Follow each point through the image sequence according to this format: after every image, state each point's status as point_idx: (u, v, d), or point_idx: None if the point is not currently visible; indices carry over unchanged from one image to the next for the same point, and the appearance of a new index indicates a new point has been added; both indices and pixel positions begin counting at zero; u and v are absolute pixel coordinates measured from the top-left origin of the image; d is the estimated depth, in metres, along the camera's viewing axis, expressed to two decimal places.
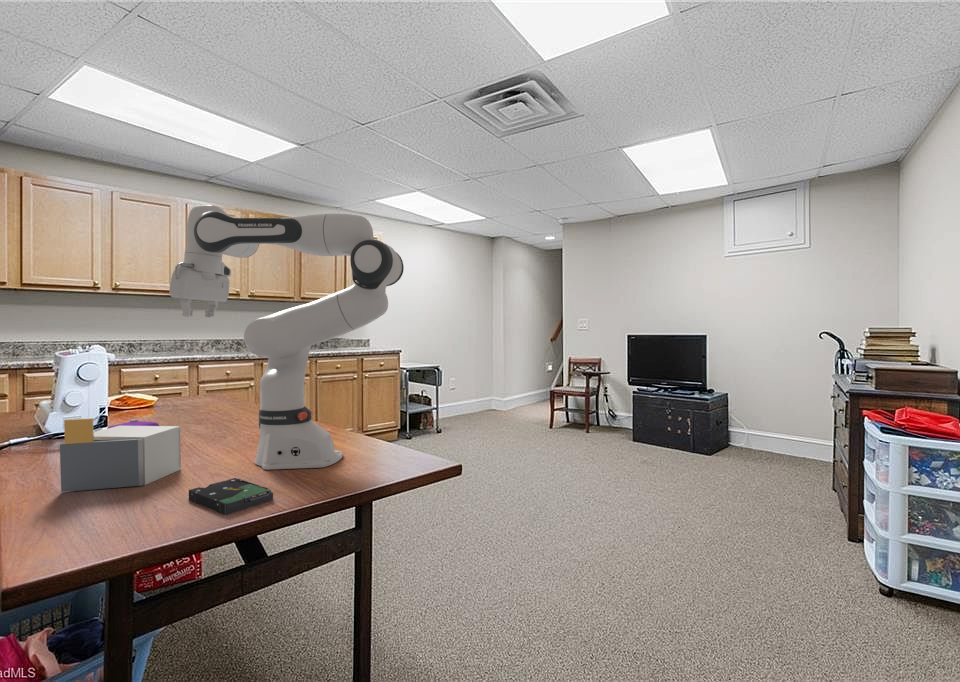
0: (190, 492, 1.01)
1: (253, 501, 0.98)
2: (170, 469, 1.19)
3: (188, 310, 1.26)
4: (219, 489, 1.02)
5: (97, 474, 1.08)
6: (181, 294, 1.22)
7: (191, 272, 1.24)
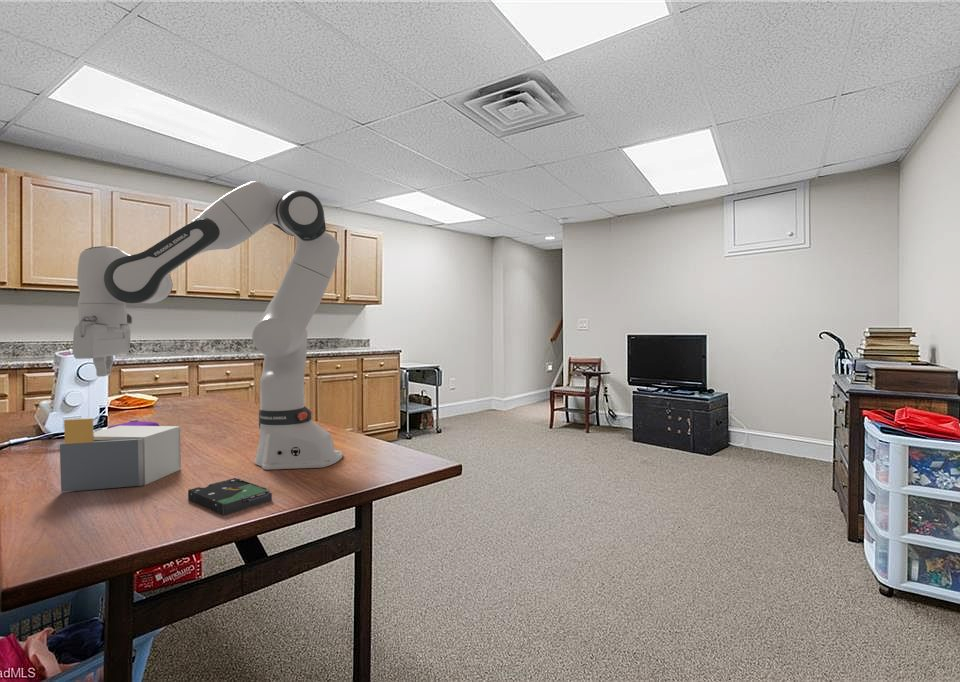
0: (189, 492, 1.01)
1: (251, 501, 0.98)
2: (170, 469, 1.19)
3: (104, 369, 1.12)
4: (218, 489, 1.02)
5: (97, 474, 1.08)
6: (90, 353, 1.04)
7: (97, 327, 1.07)
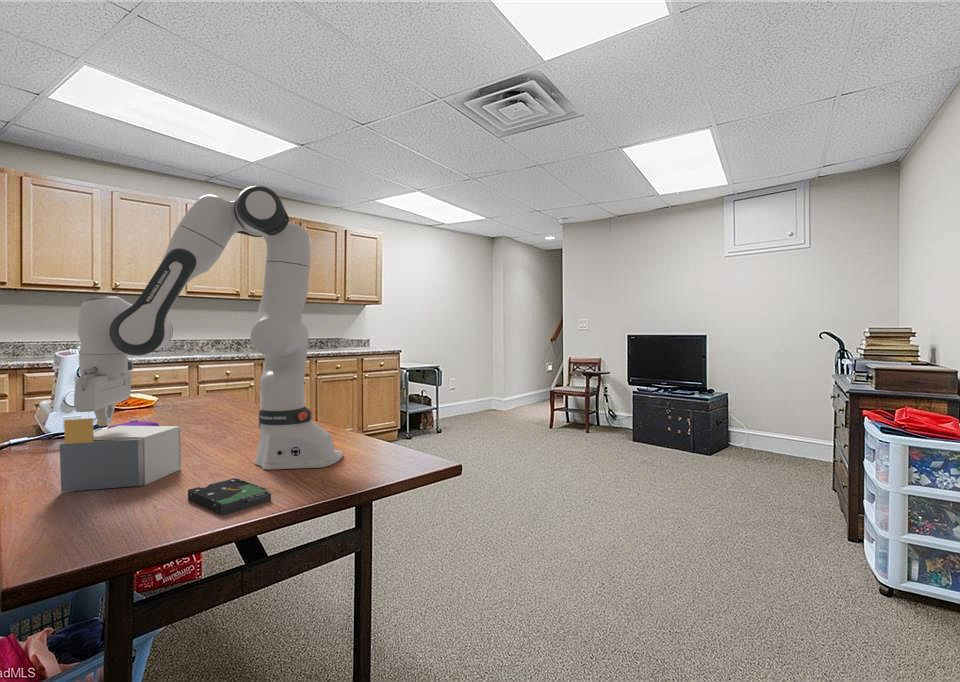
0: (189, 492, 1.01)
1: (250, 502, 0.98)
2: (170, 469, 1.19)
3: (105, 418, 1.13)
4: (218, 489, 1.02)
5: (97, 474, 1.08)
6: (91, 407, 1.05)
7: (98, 379, 1.07)
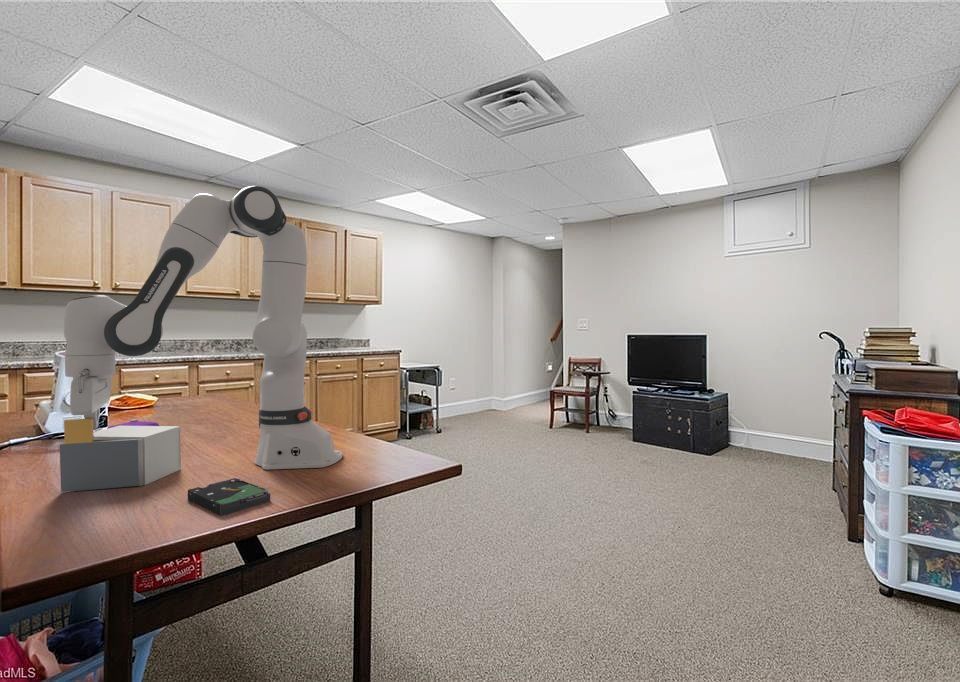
0: (189, 492, 1.01)
1: (250, 502, 0.97)
2: (170, 469, 1.19)
3: (94, 422, 1.08)
4: (218, 489, 1.02)
5: (97, 474, 1.08)
6: (90, 409, 1.01)
7: (94, 381, 1.03)
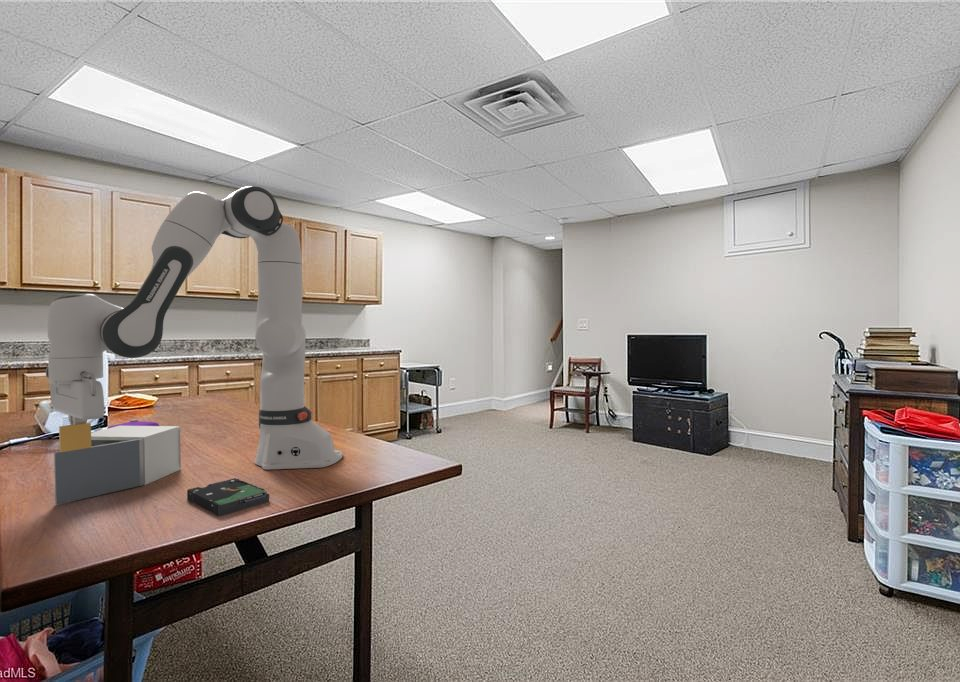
0: (188, 492, 1.01)
1: (248, 502, 0.97)
2: (170, 469, 1.19)
3: None
4: (217, 489, 1.02)
5: (97, 480, 1.04)
6: (103, 412, 0.98)
7: None
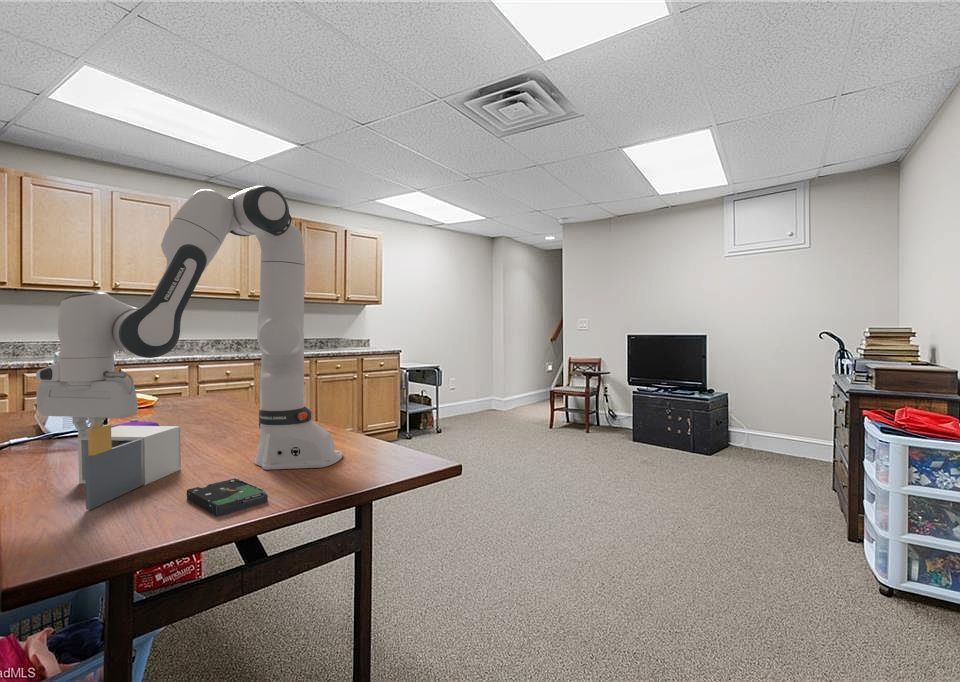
0: (188, 492, 1.01)
1: (246, 503, 0.97)
2: (170, 469, 1.19)
3: None
4: (216, 489, 1.02)
5: (115, 482, 1.02)
6: (137, 410, 1.00)
7: None
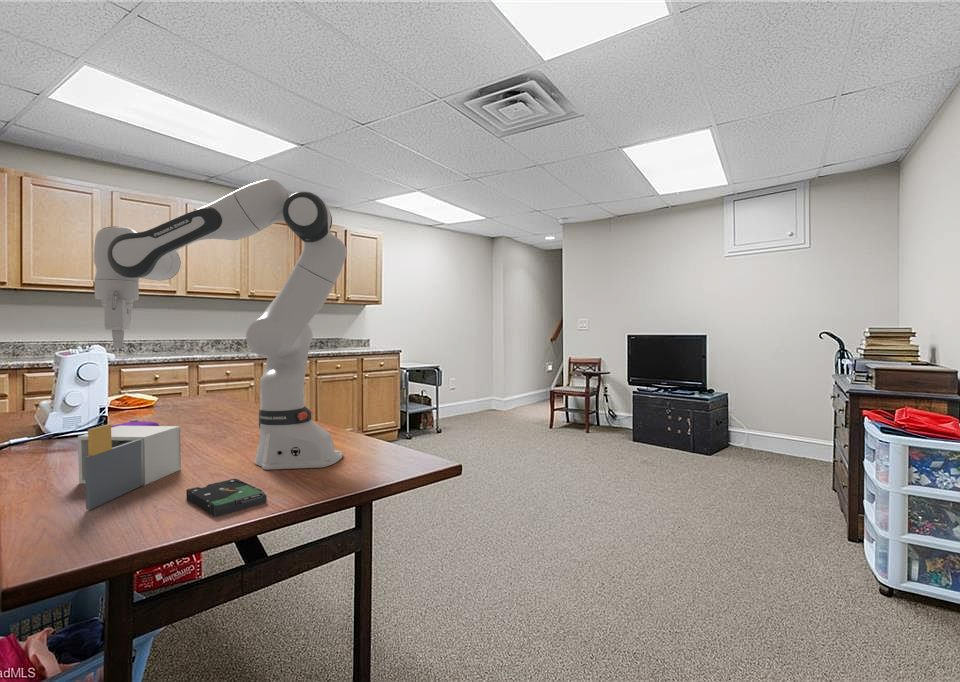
0: (187, 492, 1.01)
1: (245, 503, 0.97)
2: (170, 469, 1.19)
3: (121, 341, 1.21)
4: (215, 489, 1.01)
5: (115, 482, 1.02)
6: (122, 325, 1.14)
7: (123, 301, 1.16)
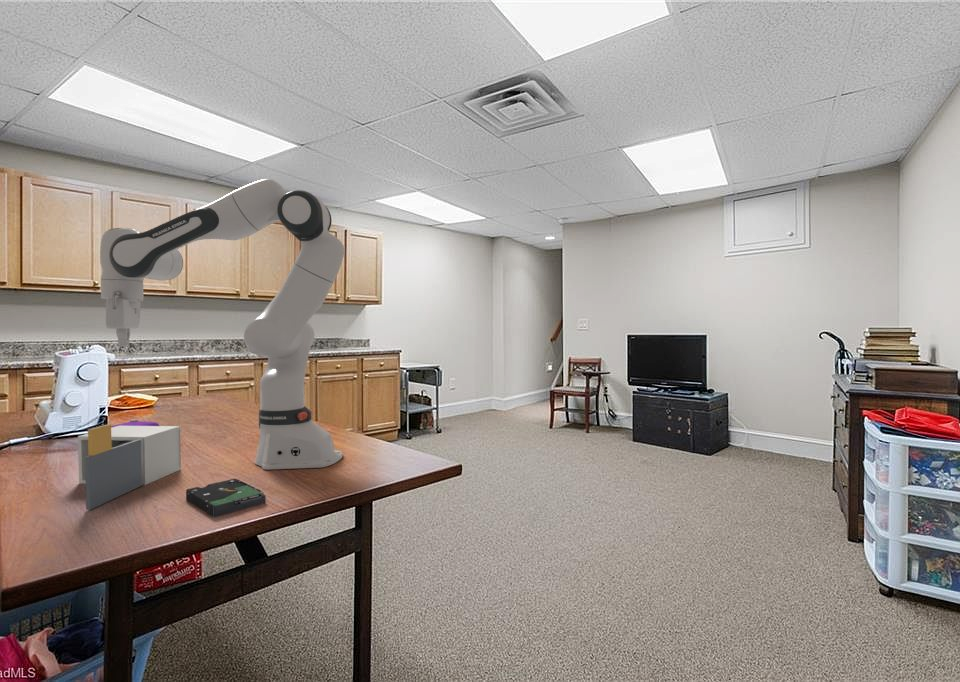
0: (187, 492, 1.01)
1: (244, 504, 0.96)
2: (170, 469, 1.19)
3: (125, 340, 1.24)
4: (215, 490, 1.01)
5: (115, 482, 1.02)
6: (122, 323, 1.17)
7: (125, 300, 1.19)
